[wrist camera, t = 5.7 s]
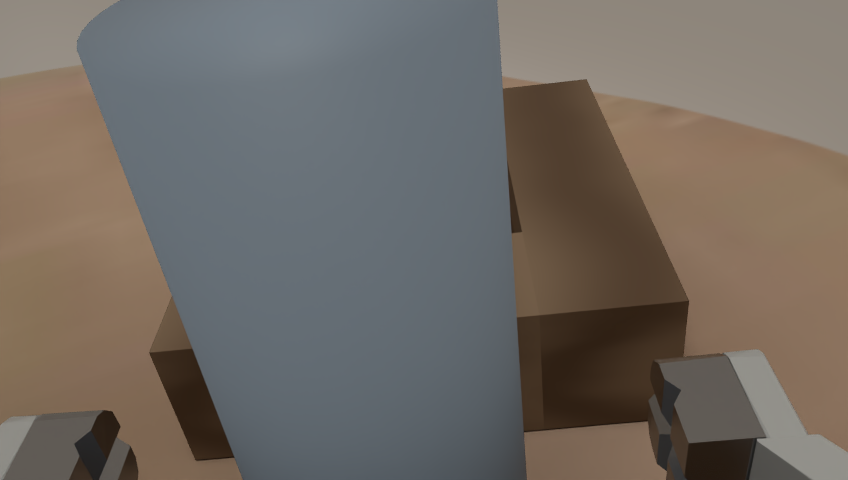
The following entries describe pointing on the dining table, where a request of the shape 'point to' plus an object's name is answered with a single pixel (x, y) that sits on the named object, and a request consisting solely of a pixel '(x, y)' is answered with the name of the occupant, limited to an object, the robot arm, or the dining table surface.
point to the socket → (540, 279)
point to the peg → (329, 224)
